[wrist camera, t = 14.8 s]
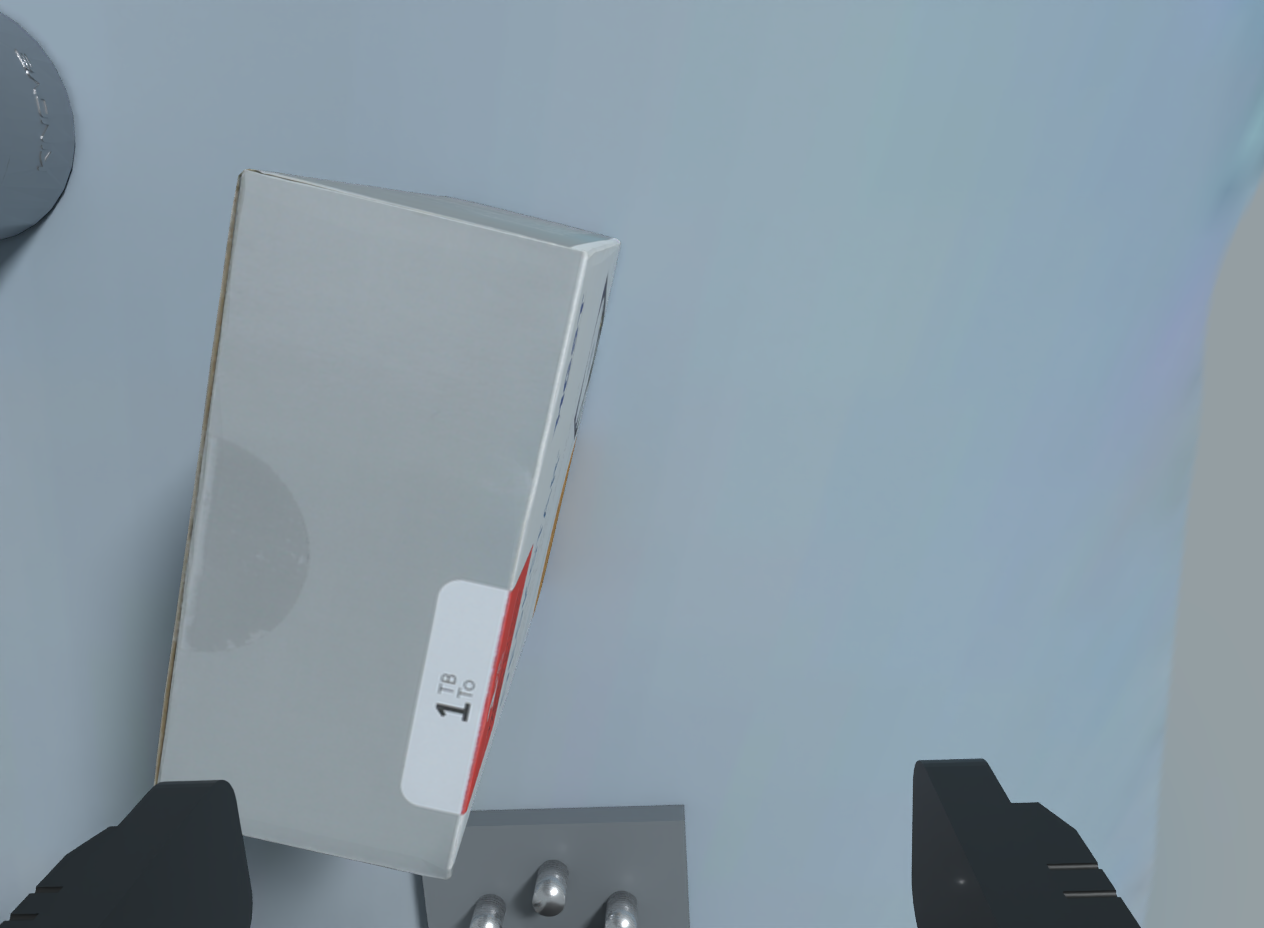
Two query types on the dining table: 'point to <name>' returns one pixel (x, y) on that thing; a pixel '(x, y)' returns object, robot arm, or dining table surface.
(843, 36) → the dining table surface
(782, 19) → the dining table surface
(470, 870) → the pin tray
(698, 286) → the dining table surface
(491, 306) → the hard drive box
